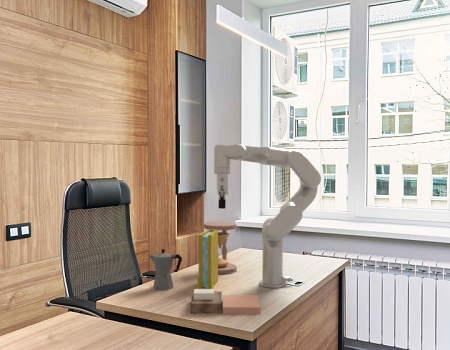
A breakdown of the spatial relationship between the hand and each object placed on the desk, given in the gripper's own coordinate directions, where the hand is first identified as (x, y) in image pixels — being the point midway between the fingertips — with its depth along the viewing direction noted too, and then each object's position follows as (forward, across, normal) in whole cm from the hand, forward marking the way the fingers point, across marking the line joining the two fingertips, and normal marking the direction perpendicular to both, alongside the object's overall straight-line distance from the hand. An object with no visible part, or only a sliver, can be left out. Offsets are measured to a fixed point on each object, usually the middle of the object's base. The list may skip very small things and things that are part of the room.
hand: (222, 207), depth 219 cm
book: (+37, 0, +6) cm, 37 cm away
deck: (+37, -33, +6) cm, 50 cm away
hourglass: (+37, +28, +1) cm, 46 cm away
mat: (+37, -33, -8) cm, 50 cm away
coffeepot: (+37, -5, +26) cm, 45 cm away
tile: (+33, -33, +7) cm, 47 cm away
